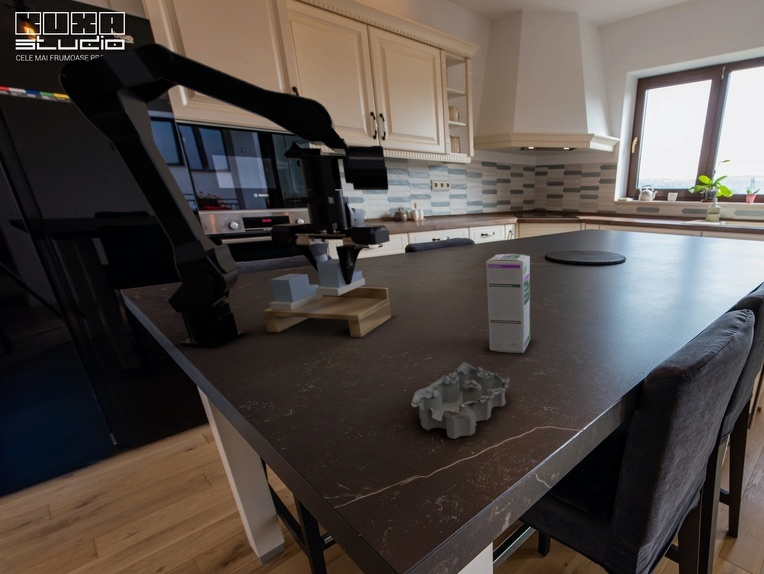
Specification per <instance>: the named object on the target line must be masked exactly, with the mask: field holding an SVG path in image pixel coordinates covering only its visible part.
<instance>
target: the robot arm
mask: <svg viewBox="0 0 764 574" xmlns="http://www.w3.org/2000/svg"><path fill="white" fill-rule="evenodd" d="M58 81H59V84H60V87H61V89H62V91H63V92H64V93H65V95H66V96H67V97H68V98H69V99H70V101H71V102H72V103H73V105H74V106H75V107H76V108H77V109H78V111H79V112H80V113H81V114H82V116H83V117H84V118H85V119H86V120H87V121H88V122H89V123H90V124H91V125H92V126H93V127H95V129H97V131H99V132H100V134H102V135H103V136H104V137H105V138H106V139H107V140H108V141H109V142H110V143H111V144H112V146H113V147H114V149H115V150H116V152H117V154H118V155H119V157H120V159H121V160H122V162H123V164H124V166H125V167H126V169H127V170H128V172H129V174H130V176H131V177H132V179H133V180H134V182H135V184H136V186H137V187H138V189H139V190H140V192H141V194H142V196H143V198H144V199H145V201H146V202H147V204H148V206H149V208H150V209H151V211H152V212H153V214H154V216H155V218H156V219H157V221H158V223H159V224H160V226H161V228H162V230H163V231H164V233H165V234H166V236H167V238H168V239H169V241H170V244H171V246H172V250H173V259H174V266H175V269H176V271H177V275H178V277H179V279H180V282H181V285H180V286H179V287H178V288H177V289H176V291H174V293H173V294H172V295H171V296H170V297H169V299H168V300H167V303H168V304H169V305H170V307H171V308H172V310H174V311H175V313H177V314H178V313H179V314H180V313H181V316H182V319H183V324H184V326H185V329H186V333H187V336H188V338H187V339H185V340H182V341H180V345H181V346H192V347H193V346H194V347H208V348H216V347H218V346H221V345H223V344H225V343H227V342H230V341H233V340H234V339H237V338H239V337H242V336H244V335H245V334H246V333H245V331H244V330H238V327H237V324H236V319H235V315H234V312H233V311H232V310H231V306H230V303H229V302H226V301H225V300H226V299H228V298H229V297H230V291H231V289H233V288H234V286H235V285H236V284H237V282H238V280H239V272H238V268H239V267H240V265H239V263H237V262H236V261H235V260H234V258H233V256H232V254H231V251H230V248H229V245H228V244H227V243H222V244H220V245H217V244H216V243H214V241H212V239H210V238H209V236H208V235H207V234H206V233H205V231H204V229H203V227H202V226H201V223H200V222H199V220H198V218H197V216H196V215H195V213H194V211H193V209H192V208H191V205H190V204H189V202H188V201H187V198H186V196H185V194H183V191H182V189H181V188H180V185H179V184H178V182H177V181H176V178H175V177H174V175H173V173H172V171H171V169H170V167H169V166H168V164H167V163H166V161H165V159H164V157H163V155H162V153H161V151H160V149H159V148H158V146H157V145H156V142H155V139H154V137H153V136H154V135H153V128H152V120H151V116H150V113H149V110H148V107H147V104H150V103H153V102H154V101H157V100H159V99H160V98H161V97H162V96H164V95H165V94H166V93H167V92H168V91H170V90H171V89H172V88H175V87H178V86H179V87H183V88H186V89H188V90H190V91H193V92H196V93H198V94H201V95H203V96H206V97H209V98H210V99H214V100H216V101H220V102H221V103H224V104H227V105H229V106H232V107H235V108H238V109H239V110H243V111H245V112H247V113H250V114H253V115H255V116H258V117H261V118H263V119H266V120H268V121H270V122H271V123H273V124H275V125H277V126H278V127H280V128H282V129H284V130H286V131H287V132H289V133H290V134H292V135H294V136H296V137H298V138H299V139H301V140H303V141H305V142H306V143H309V144H311V145H313V146H325V147H327V148H328V149H330V150H331V151H332V152H334V153H336V154H345V155H334V154H333V155H331V154H330V155H329V154H324V152H323V149H322V148H321V147H302V146H300V145H299V144H298V142H296V141H292V142H291V144H290V147H288V149H286V151H285V152H283V156H284V158H287V159H288V160H298V162H299V166H300V172H301V178H302V183H303V189H304V195H305V196H300V202H301V204H306V206H307V213H308V218H309V222H306V223H293V222H292V223H282V224H274V225H272V227H271V229H270V232H269V233H270V238H271V243H273V244H289V243H290V242H291V241H292V240H295V243H296V244H293V248H294V249H297V250H299V252H300V253H301V254H302V255H303V256H304V257H305V259H307V261H308V262H309V263H310V264H311V266H312V267H313V269H314V270H315V271H316V272H317V274H318V269H317V263H320V262H324V261H328V260H329V259H328V253H327V251H328V247H329V244H330V241H322V240H339V241H340V240H341V241H342V245H336V246H335V249H336V253H337V259H339V262H340V266H341V270H342V274H343V278H344V281H345V283H346V285H349V284H351V281H352V277H353V273H354V271H355V269H356V264H357V259H358V257H359V254H360V252H361V251H362V250H363V248H367V247H368V246H376V245H381V244H384V243H388V242H391V239H390V231H389V230H388V227H386V225H385V224H365V214H364V213H363V212H361V211H360V210H358V209H356V208H354V207H352V206H351V205H350V204H351V203H350V199H349V196H344V191H343V183H342V177H341V170H340V162H339V161H342V167H343V168H342V169H343V174H344V175H343V177H344V180H345V184H351V185H352V188H353V191H389V176H388V167H387V166H386V161H385V154H384V147H383V146H382V145H371V146H361V145H359V146H358V145H357V146H356V145H348V144H347V142H346V139H345V138H343V137H341V136H340V135H339V133H337V131H336V127H335V126H336V125H335V123H334V120H333V118H332V116H331V114H330V113H329V111H328V109H327V108H326V107H325V106H324V105H323V104H322V103H321V102H319V101H318V100H315V99H313V98H309V97H305V96H301V95H296V94H293V93H287V92H282V91H281V92H280V91H274V90H270V89H265V88H263V87H261V86H258V85H256V84H254V83H251V82H248V81H246V80H243V79H241V78H238V77H236V76H234V75H231V74H230V73H227V72H224V71H222V70H219V69H217V68H214V67H213V66H210V65H207V64H205V63H202V62H200V61H197V60H195V59H193V58H190V57H187V56H185V55H183V54H180V53H178V52H175V51H173V50H171V49H169V48H168V47H166V46H165V45H162V44H160V43H157V42H148V43H145V44H142V45H141V46H140V45H139V46H138V47H136V48H133V49H130V50H124V51H118V52H113V53H107V54H102V55H99V56H97V57H94V58H92V59H90V60H87V59H79V58H77V59H76V58H75V59H72V60H70V61H67V62H66V64H64V65H63V66H62V67H61V71H60V73H59V74H58Z"/></svg>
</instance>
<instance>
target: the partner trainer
mask: <svg viewBox="0 0 764 574" xmlns="http://www.w3.org/2000/svg"><path fill="white" fill-rule="evenodd" d="M269 280H270V285H271V289H272V294H273V299H274V301H272V302H270V303H269V305H270V308H271V309H273V310H294V309H296V308H299V307H301V306H304V305H306V304H308V303H311V302H313V301H315V300H318V299H320V298H323V295H317V291H316V288H318V287H319V285H320V284H310V281H309V275H308V273H307V274H306V273H288V274H285V275H281V276H278V277H274V278H271V279H269Z"/></svg>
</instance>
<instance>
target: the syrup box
mask: <svg viewBox="0 0 764 574" xmlns="http://www.w3.org/2000/svg"><path fill="white" fill-rule="evenodd" d="M485 266H486V267H485V270H486V271H485V273H486V298H487V300H486V301H487V322H488V323H487V325H488V343H489V344H488V346H489V347H488V348H489V351H491V352H499V353H500V352H501V353H512V354H524V353H525V351H526V349H527V347H528V345H529V343H530V341H531V272H530V271H531V256H530V255H529V254H520V253H502V254H495V255H494V256H493V257H491V258H489V259H487V260H486V261H485Z"/></svg>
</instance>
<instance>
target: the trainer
mask: <svg viewBox="0 0 764 574" xmlns="http://www.w3.org/2000/svg"><path fill="white" fill-rule="evenodd" d="M317 269H318V273H317V275H318V280H319V285H320V287H318V288H316V291H317V295H333V296H339V295H341V294H344V293H346V292H348V291H351V290H353V289H355V288H357V287H363V286H364V285H366V279H365V277H363V272H362V270H354V273H353V277H352V281H351V284H349V285H346V283H345V281H344V278H343V274H342V270H341V266H340V262H339V258H332V259H328V261H324V262H320V263H317Z"/></svg>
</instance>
